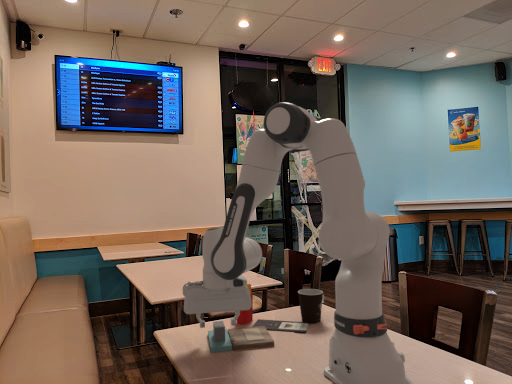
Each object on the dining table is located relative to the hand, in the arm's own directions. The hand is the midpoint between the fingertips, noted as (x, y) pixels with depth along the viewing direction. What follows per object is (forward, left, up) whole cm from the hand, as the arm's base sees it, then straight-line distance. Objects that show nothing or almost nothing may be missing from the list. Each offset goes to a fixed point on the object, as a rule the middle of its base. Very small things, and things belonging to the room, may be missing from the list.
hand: (218, 326), depth 115 cm
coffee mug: (+13, -35, -5) cm, 37 cm away
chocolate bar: (+9, -22, -6) cm, 24 cm away
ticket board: (0, -10, -5) cm, 11 cm away
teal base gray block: (0, 0, -5) cm, 5 cm away
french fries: (+17, -11, -5) cm, 20 cm away
